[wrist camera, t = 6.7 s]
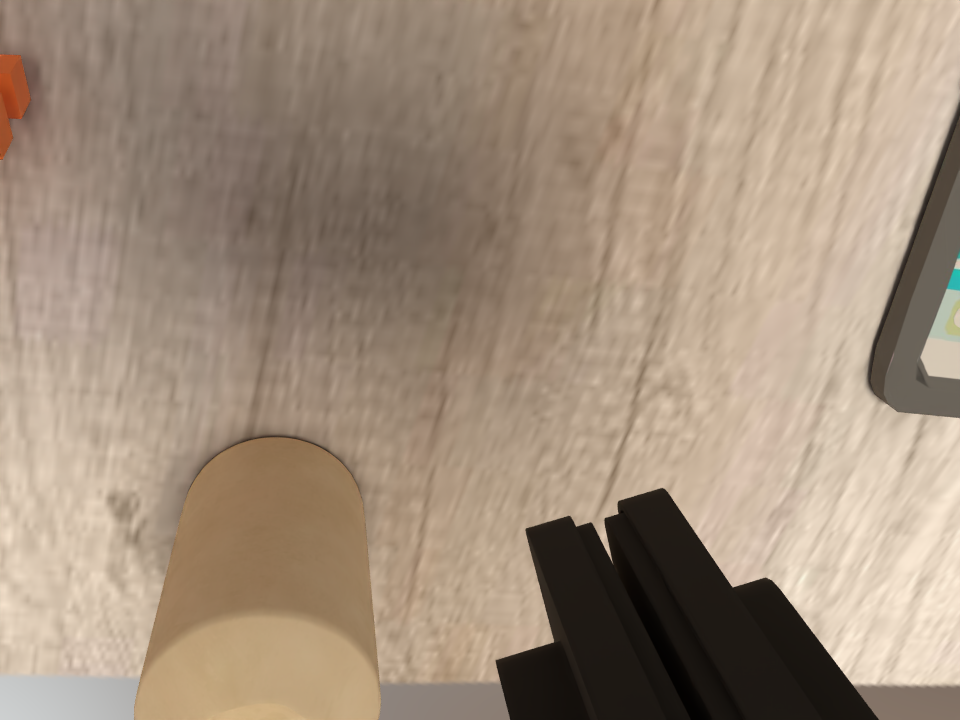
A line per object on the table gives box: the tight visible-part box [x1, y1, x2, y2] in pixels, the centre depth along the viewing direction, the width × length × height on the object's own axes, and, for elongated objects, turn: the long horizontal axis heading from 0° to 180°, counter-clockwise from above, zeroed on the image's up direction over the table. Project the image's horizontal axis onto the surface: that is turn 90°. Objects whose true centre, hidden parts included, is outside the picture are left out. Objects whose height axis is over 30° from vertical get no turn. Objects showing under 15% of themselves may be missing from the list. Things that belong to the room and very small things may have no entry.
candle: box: [134, 437, 381, 720], centre depth 24 cm, size 6×6×10 cm
